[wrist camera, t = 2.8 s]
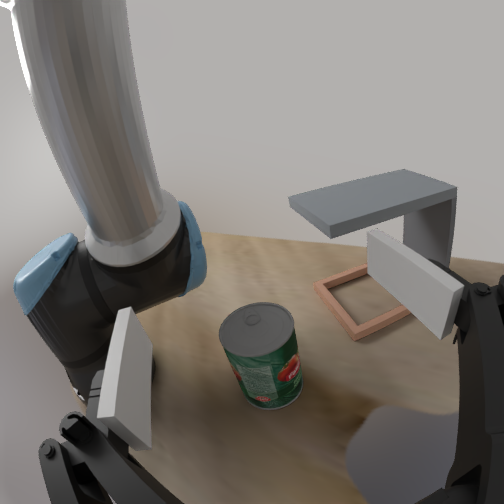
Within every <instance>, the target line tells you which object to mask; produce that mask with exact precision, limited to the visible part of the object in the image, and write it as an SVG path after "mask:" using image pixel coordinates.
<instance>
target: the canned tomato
mask: <svg viewBox="0 0 504 504" xmlns="http://www.w3.org/2000/svg"><path fill="white" fill-rule="evenodd" d="M219 339H220V342H221V344H222V346H223V348H224V350H225V353H226V355H227V357H228V359H229V362H230V364H231V367H232V369H233V371H234V374H235V375H236V378H237V380H238V382H239V385H240V387H241V389H242V391H243V393H244V396H245V398H246V400H247V401H248V402H249V403H250V404H252V405H253V406H255V407H257V408H259V409H264V410H276V409H280V408H283V407H286V406H288V405H290V404H291V403H292V402H294V401H295V400H296V399H297V398H298V396H299V395H300V393H301V391H302V388H303V377H302V371H301V365H300V359H299V352H298V346H297V340H296V334H295V329H294V320H293V317H292V315H291V313H290V312H289V311H288V310H287V309H286V308H284V307H283V306H280V305H278V304H274V303H268V302H260V303H253V304H249V305H246V306H243V307H241V308H239V309H237V310H235V311H234V312H232V313H231V314H230V315H229V316H228V317H227V318H226V319H225V320H224V321H223V323H222V324H221V327H220V329H219Z"/></svg>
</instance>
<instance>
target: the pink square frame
mask: <svg viewBox="0 0 504 504" xmlns="http://www.w3.org/2000/svg"><path fill="white" fill-rule="evenodd" d="M365 274H367V263H365V264H362V265H360V266H357V267H355V268H352V269H349V270H347V271H344V272H341V273H339V274H336V275H333V276H330V277H328V278H325V279H322V280H319V281H317V282H314V290H315V291H316V292H317V294H318V295H319V296H320V297H321V299H322V300H323V301H324V303H325V304H326V305H327V306H328V308H329V309H330V310H331V312H332V313H333V314H334V315H335V317H336V318H337V319H338V321H339V322H340V323H341V325H342V326H343V327H344V328H345V330H346V331H347V332H348V334H349V335H350V336H351V338H352V339H353V340H354V341H356V340H358V339H361V338H363V337H365V336H367V335H369V334H371V333H373V332H375V331H377V330H380V329H382V328H384V327H386V326H388V325H390V324H391V323H393V322H395V321H397V320H399V319H401V318H403V317H405V316H407V315H409V314H410V313H411V312H410V311H409V310H408V309H407V308H406V307H405V306H404V305H403V304H402V305H400V306H398V307H396V308H395V309H392V310H390V311H388V312H386V313H384V314H382V315H380V316H378V317H376V318H374V319H372V320H370V321H367V322H365V323H363V324H361V325H359V326H358V325H357V324H356V323H355V322H354V321H353V319H352V318H351V317H350V316H349V315H348V313H347V312H346V311H345V310H344V309H343V307H342V306H341V305H340V304H339V303H338V302H337V300H336V299H335V298H334V297H333V296H332V294H331V293H330V292H329V291H328V290H327V289H329V288H332V287H334V286H337V285H339V284H342V283H345V282H347V281H350V280H352V279H355V278H357V277H360V276H362V275H365Z"/></svg>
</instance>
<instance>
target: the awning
mask: <svg viewBox="0 0 504 504" xmlns="http://www.w3.org/2000/svg"><path fill="white" fill-rule="evenodd" d="M288 198H289V203H290V207H291V208H292V209H294V210H295V211H296V212H297V213H299V214H300V215H301V216H303V217H304V218H305V219H306V220H308V221H309V222H310V223H311V224H313V225H314V226H315V227H317V228H318V229H319V230H320V231H322V232H323V233H324V234H325V235H327V236H328V237H329V238H330V239H332V238H335V237H338V236H341V235H344V234H347V233H350V232H353V231H356V230H360V229H363V228H366V227H368V226H372V225H375V224H378V223H381V222H384V221H387V220H390V219H393V218H395V217H399V216H402V215H404V234H403V244H404V245H406V246H407V247H409V248H410V249H412V250H413V251H415V252H416V253H418V254H420V255H421V256H423V257H424V258H426V259H432V260H435V261H438V262H440V263H441V264H443V265H444V266H446V268H449V263H450V257H451V250H452V243H453V235H454V226H455V214H456V201H457V187H455V186H453V185H450V184H447V183H445V182H442V181H439V180H436V179H433V178H431V177H427V176H424V175H421V174H418V173H415V172H412V171H408V170H405V169H402V170H397V171H393V172H388V173H384V174H379V175H375V176H370V177H366V178H362V179H357V180H353V181H349V182H345V183H341V184H337V185H332V186H329V187H324V188H320V189H317V190H313V191H309V192H305V193H301V194H297V195H293V196H290V197H288Z"/></svg>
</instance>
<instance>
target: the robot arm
mask: <svg viewBox="0 0 504 504" xmlns="http://www.w3.org/2000/svg"><path fill="white" fill-rule="evenodd" d="M0 5H1V6H4V7H7V8H8V9H10V10H11V15H12V21H13V27H14V33H15V38H16V43H17V48H18V52H19V56H20V60H21V64H22V68H23V71H24V75H25V78H26V82H27V85H28V88H29V92H30V95H31V98H32V101H33V104H34V107H35V109H36V112H37V115H38V118H39V121H40V123H41V126H42V129H43V131H44V133H45V136H46V139H47V141H48V143H49V146H50V148H51V150H52V153H53V155H54V157H55V160H56V162H57V164H58V166H59V168H60V171H61V173H62V175H63V177H64V179H65V181H66V183H67V185H68V187H69V189H70V191H71V193H72V195H73V197H74V199H75V201H76V203H77V205H78V206H79V208H80V210H81V212H82V214H83V216H84V218H85V219H86V221H87V223H88V225H87V227H86V231H85V240H83V241H81V242H78V239H77V237H75V236H74V234H72V233H68V234H66V235H63V236H61V237H59V238H57V239H56V240H54V241H53V242H51V243H50V244H48V245H47V246H46V247H44V248H43V249H42V250H40V251H39V252H38V253H37V254H36V255H35V256H34V257H33V258H31V259H30V260H29V261H28V262H27V263H26V264H25V265H24V267H23V268H22V269H21V270H20V271H19V273H18V274H17V276H16V278H15V280H14V285H13V286H14V287H13V289H14V293H15V295H16V297H17V299H18V301H19V303H20V305H21V307H22V309H23V311H24V314H25V315H27V317H28V318H29V320H30V322H31V323H32V325H33V326H34V327H35V329H36V330H37V332H38V333H39V335H40V336H41V337H42V339H43V340H44V341H45V343H46V344H47V345H48V347H49V348H50V349H51V351H52V352H53V353H54V354H55V356H56V357H57V358H58V359H59V361H60V362H61V363H62V364H63V366H64V367H65V370H66V372H67V375H68V377H69V379H70V382H71V384H72V386H73V388H74V391H75V393H76V395H77V396H78V397H79V399H80V400H81V401H82V402H83V403H84V404H85V405H86V406H87V411H86V417H85V416H83V415H82V414H81V413H80V412H76V411H75V412H70V413H69V414H67V415H66V416H65V417H64V418H63V419H62V421H61V423H60V428H59V431H60V434H61V436H63V437H64V438H65V439H66V440H68V441H66V442H64V443H61V444H60V443H59V442H57V441H56V440H54V439H51V438H50V439H46V440H45V441H44V442H43V443H42V444H41V446H40V449H39V459H40V464H41V468H42V472H43V477H44V480H45V484H46V488H47V491H48V494H49V498H50V501H51V504H113V503H112V501H111V499H110V497H109V495H110V496H111V497H112V499H113V500H114V501H115V502H116V503H117V504H184V503H183V502H182V501H180V500H179V499H178V498H177V497H175V496H174V495H173V494H172V493H171V492H170V491H168V490H167V489H166V488H165V487H164V486H163V485H162V484H161V483H159V482H158V481H157V480H156V479H155V478H154V477H153V476H152V475H151V474H150V473H149V472H148V471H147V470H146V469H145V468H144V467H143V466H142V465H141V464H140V463H139V462H138V461H137V460H136V459H135V458H134V457H133V456H132V455H131V454H129V453H128V447H129V446H130V447H131V448H133V449H134V450H135V451H139V450H149V449H152V443H151V382H152V380H153V377H154V372H155V362H154V359H153V356H152V347H153V344H152V343H151V341H150V339H149V338H148V336H147V334H146V332H145V331H144V329H143V327H142V325H141V324H140V322H139V320H138V318H137V317H136V315H135V314H137V313H140V312H142V311H144V310H147V309H149V308H152V307H154V306H156V305H159V304H161V303H164V302H166V301H169V300H171V299H173V298H176V297H181V296H184V295H185V294H186V293H187V292H189V291H191V290H193V289H195V288H197V287H199V286H200V285H201V284H202V283H203V282H204V280H205V278H206V273H207V261H206V254H205V249H204V247H203V245H202V237H201V233H200V230H199V227H198V224H197V222H196V219H195V217H194V215H193V213H192V211H191V209H190V208H189V206H188V205H187V204H186V203H184V202H182V201H178V202H177V200H176V199H175V198H174V197H173V196H172V195H171V194H170V193H169V192H167V191H165V190H163V189H161V188H160V185H159V181H158V177H157V173H156V169H155V165H154V161H153V157H152V153H151V149H150V144H149V140H148V136H147V131H146V126H145V121H144V117H143V112H142V107H141V102H140V96H139V91H138V86H137V80H136V74H135V68H134V62H133V56H132V49H131V42H130V35H129V27H128V18H127V9H126V0H0ZM367 273H368V274H369V275H370V276H371V277H372V278H374V279H375V280H376V281H377V282H378V283H379V284H380V285H382V286H383V287H384V288H385V289H386V290H387V291H388V292H389V293H391V294H392V295H393V296H394V297H395V298H396V299H397V300H398V301H399V302H400V303H402V304H403V305H404V306H405V307H406V308H407V309H408V310H409V311H410V312H411V313H412V314H414V315H415V316H416V317H417V318H418V319H419V320H420V321H421V322H422V323H423V324H424V325H425V326H426V327H427V328H428V329H429V330H430V331H431V332H432V333H434V334H435V335H436V336H437V337H438V338H439V339H440V340H441V339H443V338H444V337H446V336H447V335H449V334H450V333H451V331H452V328H453V325H454V323H455V324H456V325H457V326H458V329H457V332H456V335H455V337H454V340H453V344H455V342H456V340H457V341H458V354H459V376H460V401H459V423H458V435H457V445H456V453H455V459H454V463H453V465H452V467H451V469H450V471H449V474H448V477H447V481H446V485H445V489H442V488H441V489H439V490H437V491H436V492H434V493H432V494H431V495H429V496H427V497H425V498H424V499H422V500H420V501H418V502H417V503H415V504H504V275H502V276H501V278H500V281H499V284H498V285H496V286H493V287H489V286H488V285H486V284H484V283H480V282H478V283H473V284H470V283H469V282H468V281H466V280H465V279H463V278H462V277H460V276H459V275H458V274H456V273H455V272H453V271H451V270H450V269H449V268H446V266H444V265H443V264H441V263H440V262H438V261H435V260H432V259H426V258H424V257H423V256H421V255H420V254H418V253H416V252H415V251H413V250H412V249H410V248H409V247H407V246H406V245H404V244H402V243H401V242H399V241H397V240H396V239H394V238H393V237H391V236H389V235H388V234H386V233H384V232H383V231H381V230H379V229H378V228H377V229H374V230H371V231H368V232H367ZM108 494H109V495H108Z"/></svg>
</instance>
